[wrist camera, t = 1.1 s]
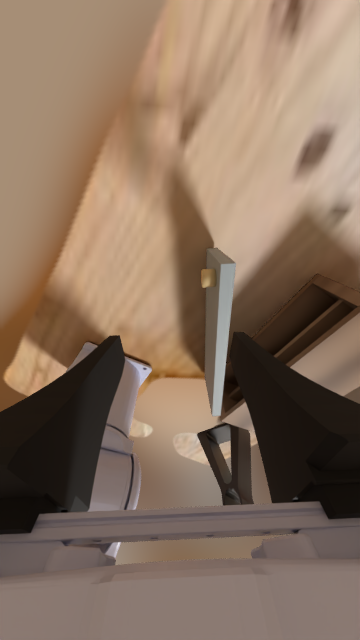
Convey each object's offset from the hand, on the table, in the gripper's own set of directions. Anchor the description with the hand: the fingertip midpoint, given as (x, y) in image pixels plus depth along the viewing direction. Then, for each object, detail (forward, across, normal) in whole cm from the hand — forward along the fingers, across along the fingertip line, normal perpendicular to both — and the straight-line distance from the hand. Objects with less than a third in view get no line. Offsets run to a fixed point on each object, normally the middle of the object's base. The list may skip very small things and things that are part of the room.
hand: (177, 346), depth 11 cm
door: (+9, -4, +5) cm, 11 cm away
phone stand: (+10, -9, +31) cm, 34 cm away
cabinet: (+10, -14, +9) cm, 19 cm away
